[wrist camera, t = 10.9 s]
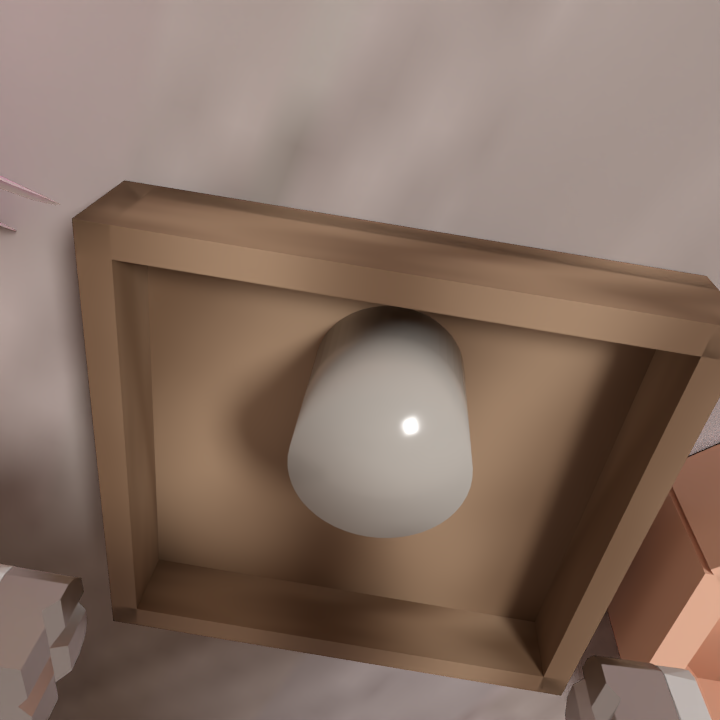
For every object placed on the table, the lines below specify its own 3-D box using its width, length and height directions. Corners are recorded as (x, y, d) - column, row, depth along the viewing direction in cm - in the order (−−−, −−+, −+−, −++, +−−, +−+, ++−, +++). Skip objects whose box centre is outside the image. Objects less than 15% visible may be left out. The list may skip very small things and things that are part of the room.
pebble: (479, 319, 16) (493, 413, 13) (446, 441, 18) (451, 550, 15) (323, 294, 16) (295, 381, 13) (307, 419, 19) (281, 522, 15)
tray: (706, 276, 16) (754, 331, 14) (547, 620, 23) (561, 695, 21) (124, 180, 16) (71, 218, 14) (145, 553, 23) (113, 620, 21)
